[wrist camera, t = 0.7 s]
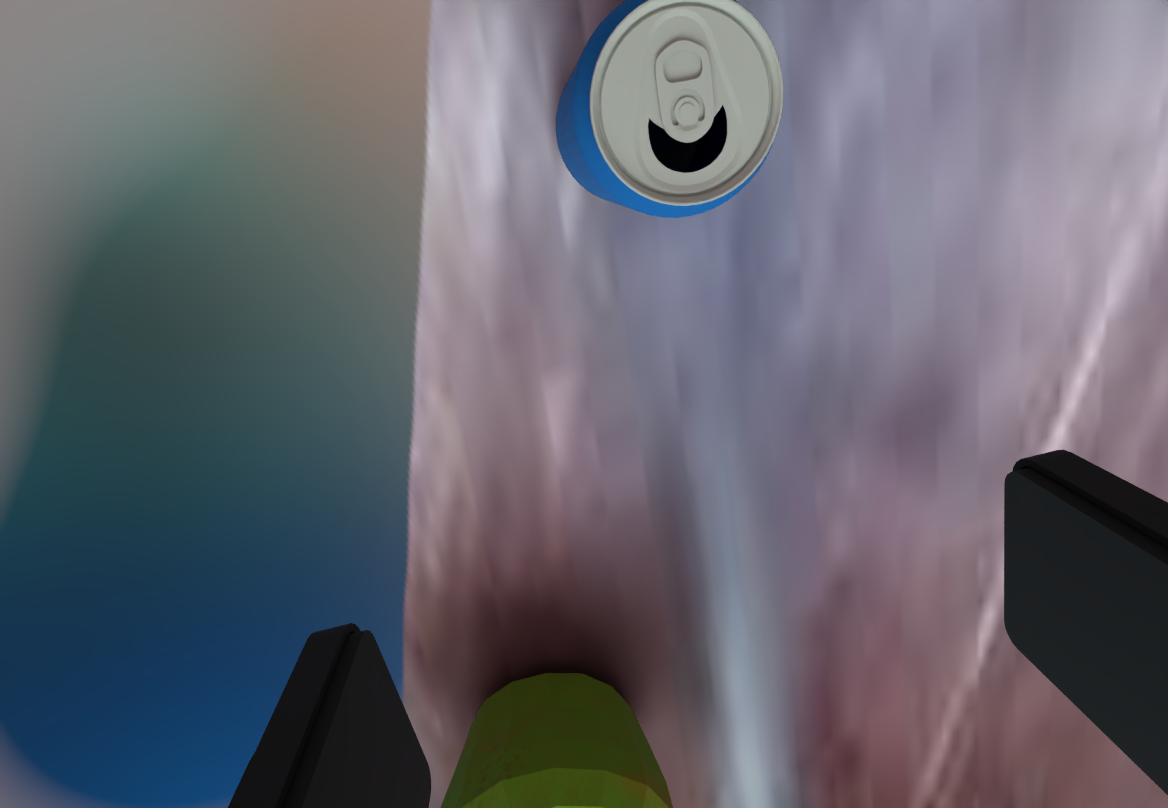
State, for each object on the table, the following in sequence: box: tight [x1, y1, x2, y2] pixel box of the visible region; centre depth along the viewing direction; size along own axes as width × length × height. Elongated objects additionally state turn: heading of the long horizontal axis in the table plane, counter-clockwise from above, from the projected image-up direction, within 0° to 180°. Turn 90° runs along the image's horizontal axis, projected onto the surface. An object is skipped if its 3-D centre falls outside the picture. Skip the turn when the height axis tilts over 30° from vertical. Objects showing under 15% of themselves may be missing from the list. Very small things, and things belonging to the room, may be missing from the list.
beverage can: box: [556, 0, 783, 218], centre depth 24 cm, size 6×6×12 cm
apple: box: [441, 673, 673, 808], centre depth 36 cm, size 12×12×11 cm
